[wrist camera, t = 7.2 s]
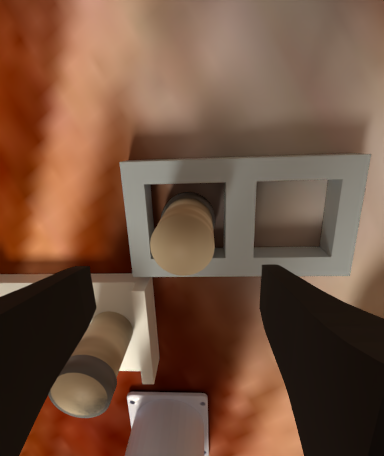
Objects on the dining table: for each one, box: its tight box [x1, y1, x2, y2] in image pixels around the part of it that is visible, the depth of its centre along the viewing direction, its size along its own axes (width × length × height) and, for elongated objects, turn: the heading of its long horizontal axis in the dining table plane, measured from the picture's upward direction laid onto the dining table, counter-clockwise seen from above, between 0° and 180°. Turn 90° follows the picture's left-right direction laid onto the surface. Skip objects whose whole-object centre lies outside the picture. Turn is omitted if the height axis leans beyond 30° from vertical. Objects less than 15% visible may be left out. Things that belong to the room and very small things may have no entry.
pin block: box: [120, 153, 371, 277], centre depth 19 cm, size 8×16×2 cm, turn 92°
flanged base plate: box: [0, 273, 160, 384], centre depth 22 cm, size 9×14×3 cm, turn 92°
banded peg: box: [150, 192, 215, 276], centre depth 17 cm, size 4×4×6 cm
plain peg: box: [48, 311, 133, 418], centre depth 19 cm, size 4×4×6 cm
